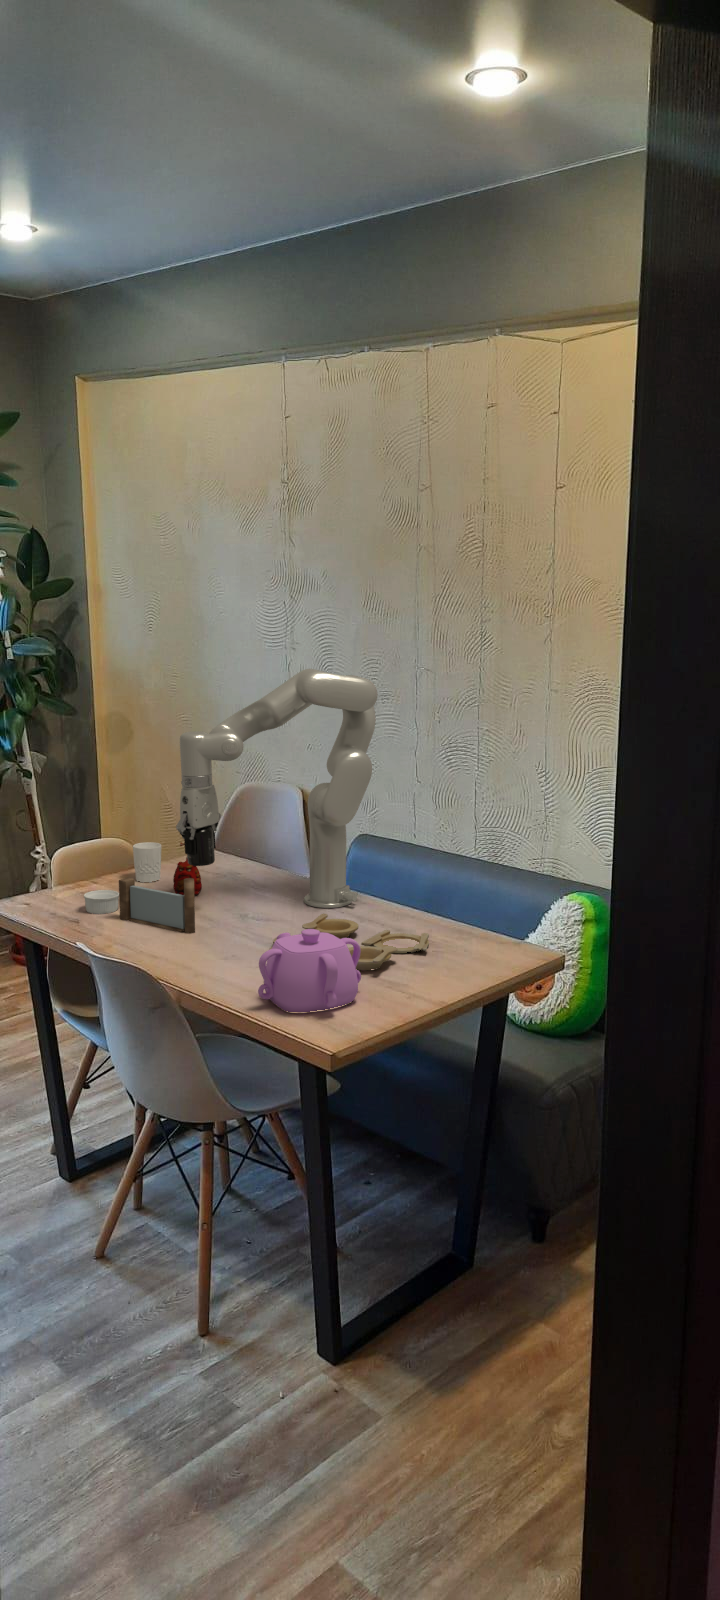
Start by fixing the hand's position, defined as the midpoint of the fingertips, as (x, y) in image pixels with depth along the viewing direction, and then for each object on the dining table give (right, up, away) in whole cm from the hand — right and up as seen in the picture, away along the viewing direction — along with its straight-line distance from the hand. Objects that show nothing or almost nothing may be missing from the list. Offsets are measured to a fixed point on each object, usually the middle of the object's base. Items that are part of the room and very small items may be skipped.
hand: (200, 850), depth 281 cm
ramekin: (-26, -16, +4) cm, 30 cm away
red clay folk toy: (-6, -13, +20) cm, 25 cm away
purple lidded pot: (+29, -27, -55) cm, 68 cm away
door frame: (-9, -18, -8) cm, 22 cm away
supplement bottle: (0, -3, +1) cm, 4 cm away
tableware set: (+38, -22, -25) cm, 51 cm away
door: (-9, -17, -8) cm, 21 cm away
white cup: (-20, -10, +34) cm, 41 cm away
